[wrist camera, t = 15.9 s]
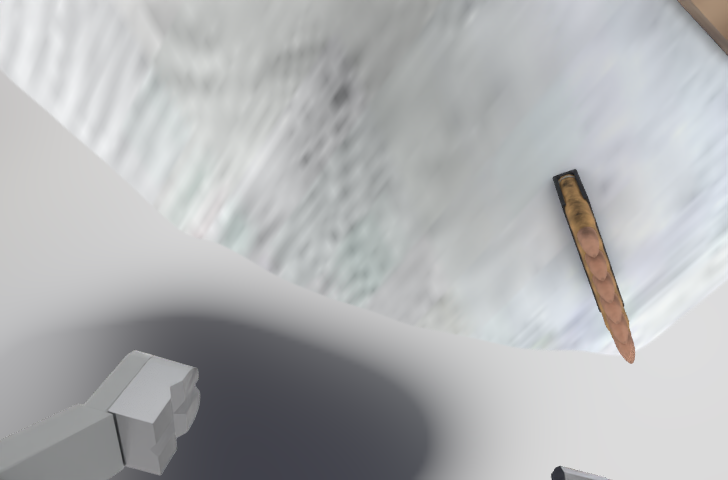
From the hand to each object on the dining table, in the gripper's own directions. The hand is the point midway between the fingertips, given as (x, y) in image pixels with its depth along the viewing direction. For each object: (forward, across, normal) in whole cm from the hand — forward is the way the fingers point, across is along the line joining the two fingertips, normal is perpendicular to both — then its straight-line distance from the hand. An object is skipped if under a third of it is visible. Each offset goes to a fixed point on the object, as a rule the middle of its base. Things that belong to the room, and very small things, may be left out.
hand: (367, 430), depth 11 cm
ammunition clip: (+32, -14, +10) cm, 37 cm away
